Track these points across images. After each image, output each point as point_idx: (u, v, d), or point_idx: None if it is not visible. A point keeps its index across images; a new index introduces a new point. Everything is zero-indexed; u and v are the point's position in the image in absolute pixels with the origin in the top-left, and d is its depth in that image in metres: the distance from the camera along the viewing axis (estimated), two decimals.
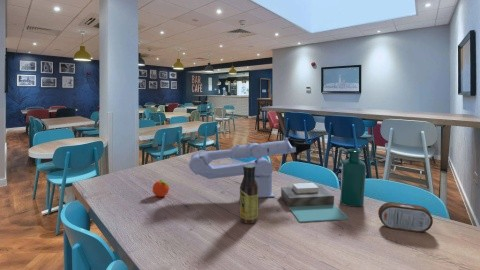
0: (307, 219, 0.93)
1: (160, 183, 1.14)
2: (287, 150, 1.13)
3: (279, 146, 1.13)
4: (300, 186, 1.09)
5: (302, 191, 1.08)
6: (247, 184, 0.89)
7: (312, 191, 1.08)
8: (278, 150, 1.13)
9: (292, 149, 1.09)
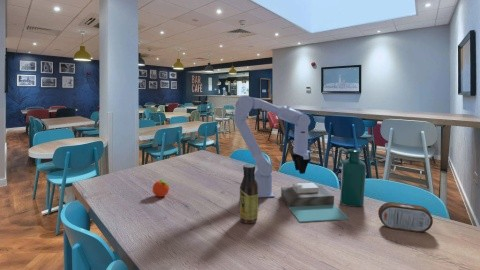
0: (307, 219, 0.93)
1: (160, 183, 1.14)
2: (300, 151, 1.13)
3: (305, 143, 1.13)
4: (300, 186, 1.09)
5: (302, 191, 1.08)
6: (247, 184, 0.89)
7: (312, 191, 1.08)
8: (301, 142, 1.12)
9: (307, 155, 1.09)
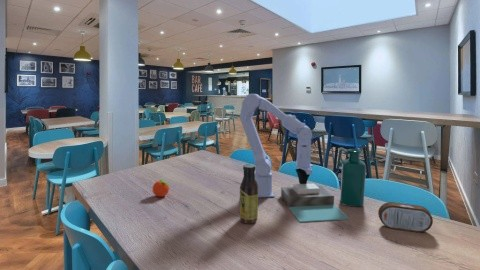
0: (307, 219, 0.93)
1: (160, 183, 1.14)
2: (303, 166, 1.10)
3: (308, 157, 1.10)
4: (301, 187, 1.08)
5: (303, 192, 1.07)
6: (247, 184, 0.89)
7: (313, 192, 1.08)
8: (304, 156, 1.09)
9: (310, 170, 1.06)
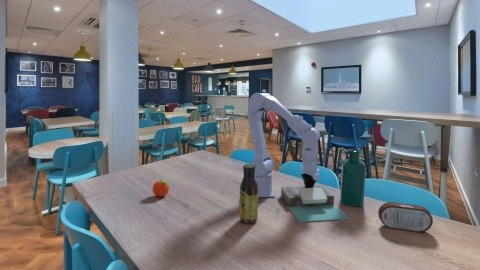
0: (307, 219, 0.93)
1: (160, 183, 1.14)
2: (309, 170, 1.03)
3: (315, 162, 1.03)
4: (307, 196, 1.01)
5: (309, 202, 1.01)
6: (247, 184, 0.89)
7: (319, 202, 1.01)
8: (311, 161, 1.02)
9: (317, 176, 0.99)
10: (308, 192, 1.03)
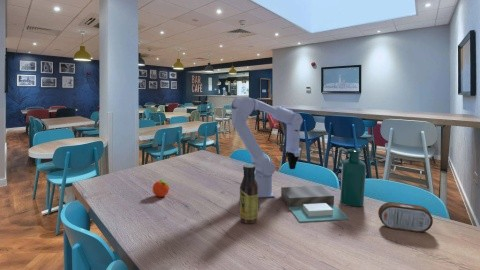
0: (307, 219, 0.93)
1: (160, 183, 1.14)
2: (292, 149, 1.18)
3: (297, 141, 1.18)
4: None
5: None
6: (247, 184, 0.89)
7: None
8: (293, 140, 1.17)
9: (298, 153, 1.14)
10: None
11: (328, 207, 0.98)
